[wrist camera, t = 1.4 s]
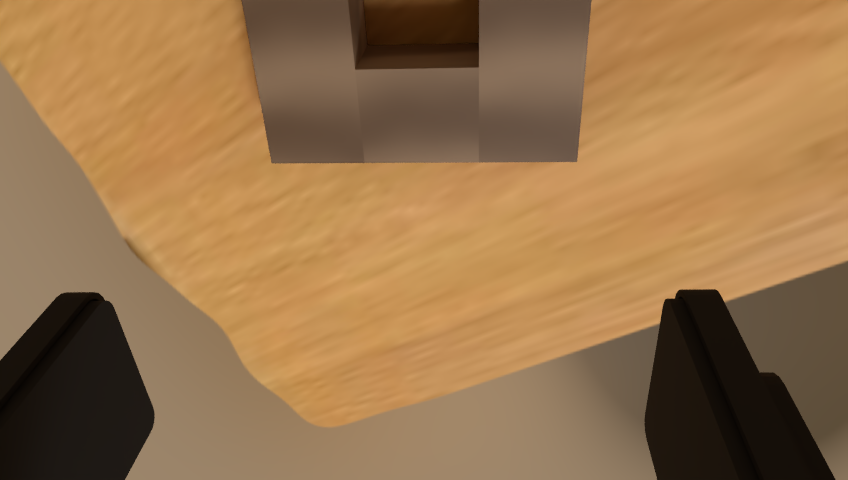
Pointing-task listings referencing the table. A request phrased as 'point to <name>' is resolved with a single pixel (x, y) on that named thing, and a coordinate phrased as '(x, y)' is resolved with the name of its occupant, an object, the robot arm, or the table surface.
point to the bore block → (419, 85)
